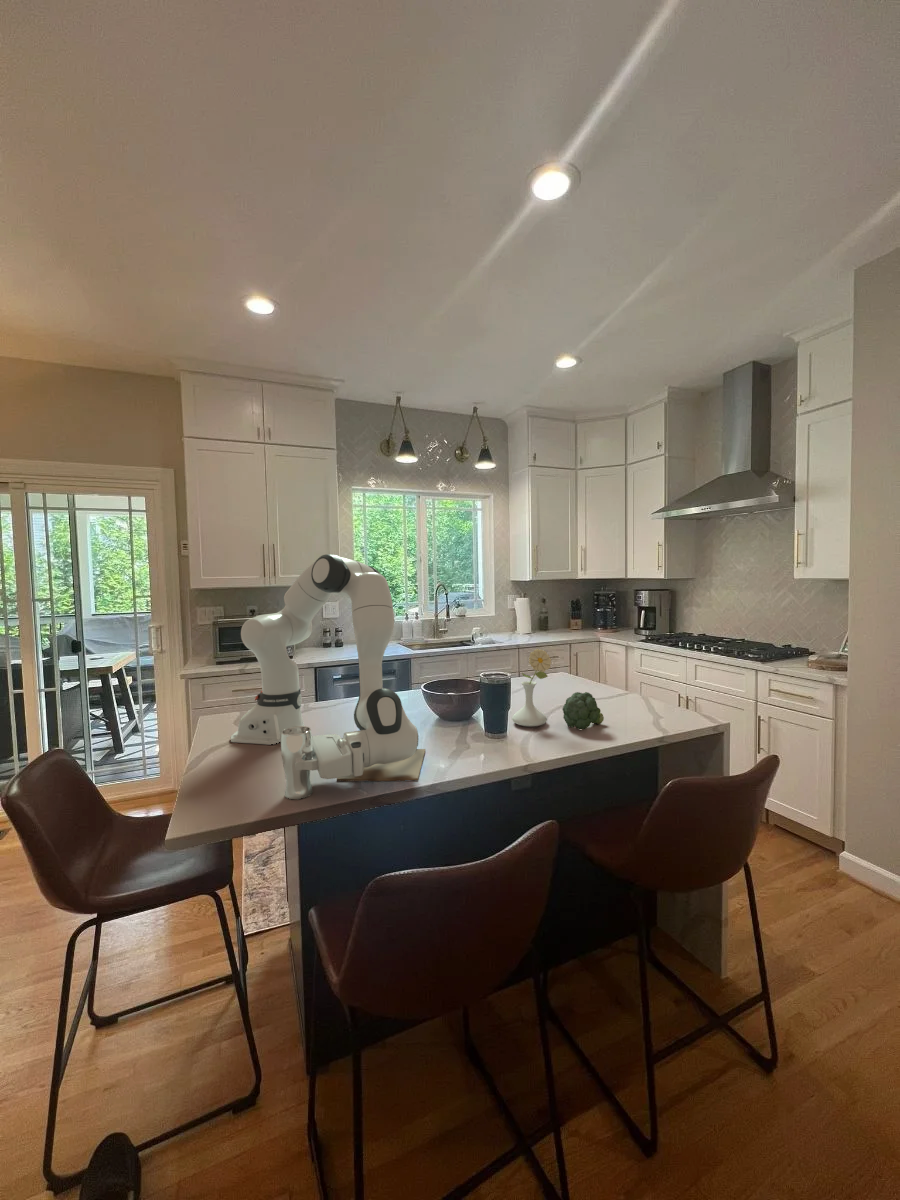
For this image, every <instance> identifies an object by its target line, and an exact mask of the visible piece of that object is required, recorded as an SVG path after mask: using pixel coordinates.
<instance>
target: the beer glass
mask: <svg viewBox="0 0 900 1200" xmlns="http://www.w3.org/2000/svg"><path fill="white" fill-rule="evenodd" d="M312 737H313V736H312V729H311V727H310V726H306V725H304V726H296V727H290V728H287V729H284V730H283V731H282V732H281V742H280V752H281V753H280V755H281V761H282V764H283V770H284V775H285V779H286V780H285V783H286V784H285V791H284V796H285V798H286V799H288V798H289V799H288V800H291V799H297V800H302V799H301V798H303V799H305V797H306V798H308V797H310V796H311V795H312V794H313V787H312V784H311V782H312V781H311V770H296V769H295V761H298V760H303V761H305V760H311V759H313V758H312V753H313V745H312ZM309 795H310V796H309ZM307 796H308V797H307Z"/></svg>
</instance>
